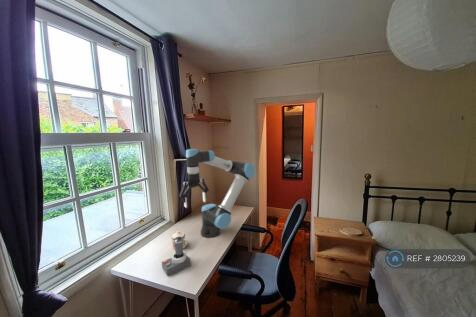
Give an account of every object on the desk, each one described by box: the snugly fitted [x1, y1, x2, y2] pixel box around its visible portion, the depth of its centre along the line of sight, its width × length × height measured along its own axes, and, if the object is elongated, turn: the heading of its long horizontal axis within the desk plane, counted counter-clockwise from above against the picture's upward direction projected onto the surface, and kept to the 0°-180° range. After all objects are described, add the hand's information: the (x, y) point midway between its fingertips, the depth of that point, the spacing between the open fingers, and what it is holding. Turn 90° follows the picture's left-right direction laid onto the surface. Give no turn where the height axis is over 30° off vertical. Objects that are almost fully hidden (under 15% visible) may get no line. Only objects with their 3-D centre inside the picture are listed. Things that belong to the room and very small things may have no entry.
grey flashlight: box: [174, 237, 184, 258], centre depth 117 cm, size 5×5×13 cm
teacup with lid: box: [171, 230, 189, 251], centre depth 135 cm, size 12×9×12 cm
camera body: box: [161, 250, 191, 277], centre depth 116 cm, size 14×9×6 cm, turn 129°
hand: (195, 204), depth 128 cm, fingers open, 13 cm apart
